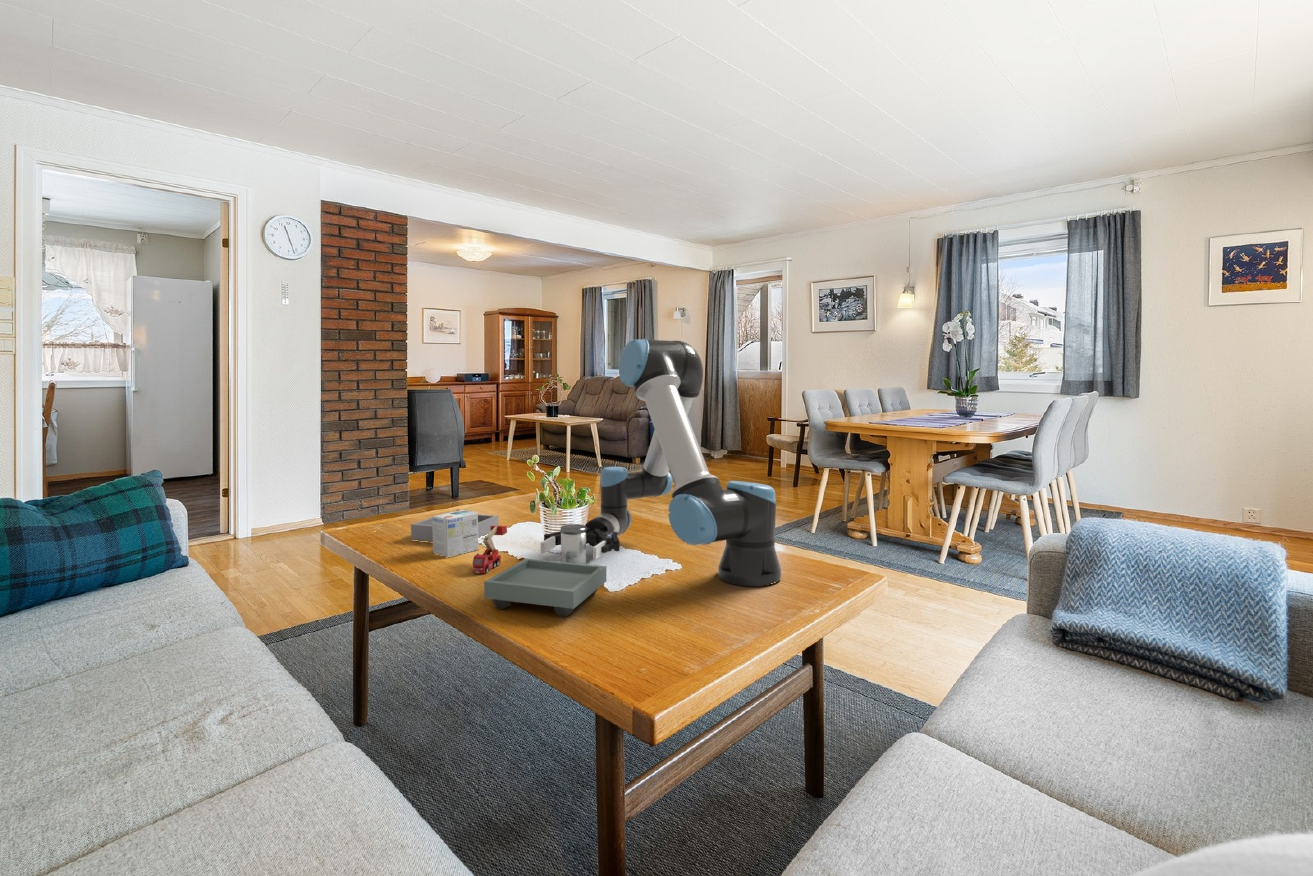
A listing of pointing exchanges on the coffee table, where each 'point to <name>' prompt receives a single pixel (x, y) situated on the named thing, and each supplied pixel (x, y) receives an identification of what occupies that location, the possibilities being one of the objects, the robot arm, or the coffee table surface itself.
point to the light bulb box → (455, 533)
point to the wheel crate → (424, 528)
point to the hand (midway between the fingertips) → (567, 550)
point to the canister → (573, 543)
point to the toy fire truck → (489, 552)
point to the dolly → (545, 584)
